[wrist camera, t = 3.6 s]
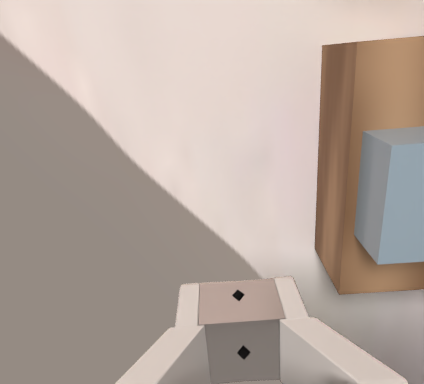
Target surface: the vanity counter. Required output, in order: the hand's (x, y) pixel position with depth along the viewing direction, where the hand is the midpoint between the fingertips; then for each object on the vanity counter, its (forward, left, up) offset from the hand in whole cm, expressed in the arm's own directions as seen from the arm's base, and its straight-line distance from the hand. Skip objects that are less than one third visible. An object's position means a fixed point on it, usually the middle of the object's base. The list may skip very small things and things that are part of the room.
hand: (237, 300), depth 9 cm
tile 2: (-8, 0, -7) cm, 11 cm away
